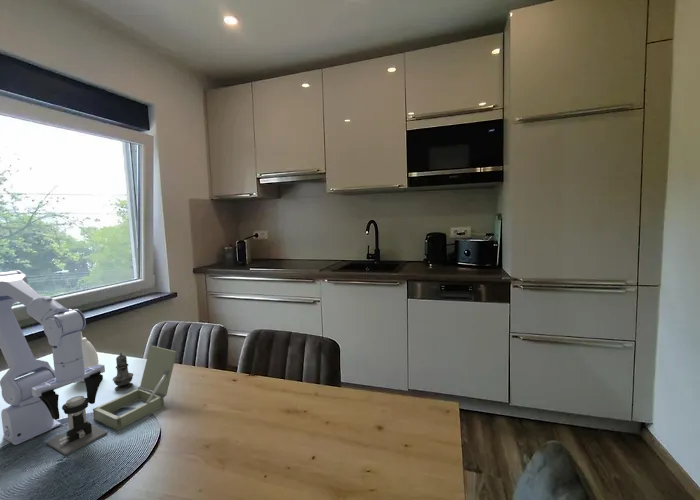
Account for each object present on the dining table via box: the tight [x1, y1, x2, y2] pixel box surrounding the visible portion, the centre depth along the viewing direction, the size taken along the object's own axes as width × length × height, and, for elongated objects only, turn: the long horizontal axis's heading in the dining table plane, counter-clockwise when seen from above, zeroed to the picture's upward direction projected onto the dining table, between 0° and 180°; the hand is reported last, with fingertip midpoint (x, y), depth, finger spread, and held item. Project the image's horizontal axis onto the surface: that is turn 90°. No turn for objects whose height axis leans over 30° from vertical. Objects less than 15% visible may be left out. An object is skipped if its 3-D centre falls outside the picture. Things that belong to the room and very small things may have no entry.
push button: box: [60, 395, 92, 444], centre depth 85 cm, size 7×5×10 cm
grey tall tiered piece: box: [112, 352, 134, 392], centre depth 112 cm, size 6×6×12 cm
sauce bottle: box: [80, 331, 99, 383], centre depth 118 cm, size 8×8×18 cm
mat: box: [45, 423, 108, 456], centre depth 86 cm, size 9×10×1 cm
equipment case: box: [92, 345, 177, 431], centre depth 99 cm, size 18×12×15 cm, turn 152°
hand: (74, 410), depth 85 cm, fingers open, 7 cm apart
